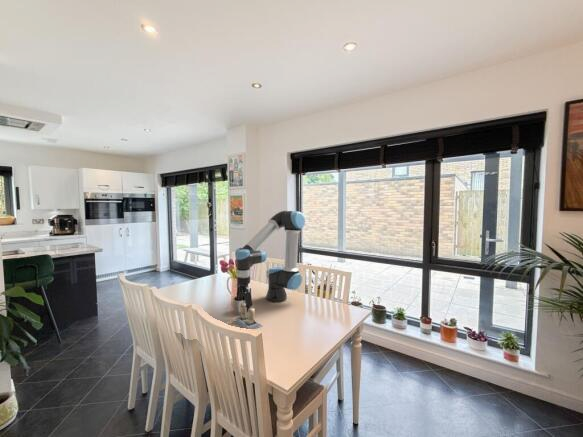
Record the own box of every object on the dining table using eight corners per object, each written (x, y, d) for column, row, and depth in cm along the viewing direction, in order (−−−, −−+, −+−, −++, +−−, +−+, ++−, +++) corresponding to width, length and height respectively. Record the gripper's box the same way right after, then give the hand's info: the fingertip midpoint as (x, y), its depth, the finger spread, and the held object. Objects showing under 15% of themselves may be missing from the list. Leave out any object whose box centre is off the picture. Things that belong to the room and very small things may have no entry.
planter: (254, 311, 168) (253, 296, 167) (242, 317, 158) (242, 302, 158) (241, 307, 173) (241, 293, 173) (229, 313, 164) (229, 299, 163)
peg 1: (245, 319, 155) (245, 302, 154) (248, 321, 152) (248, 305, 151) (239, 320, 152) (239, 304, 152) (242, 323, 149) (242, 306, 148)
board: (250, 317, 159) (250, 312, 159) (263, 327, 146) (263, 322, 146) (232, 322, 152) (231, 318, 151) (244, 333, 139) (244, 328, 139)
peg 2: (252, 323, 148) (252, 307, 147) (255, 326, 145) (256, 310, 144) (245, 325, 146) (246, 309, 144) (249, 329, 143) (249, 312, 141)
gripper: (230, 273, 157) (230, 309, 158) (246, 281, 140) (246, 322, 141) (241, 271, 161) (242, 306, 162) (258, 279, 144) (258, 319, 145)
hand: (244, 314), depth 152 cm, fingers open, 8 cm apart
